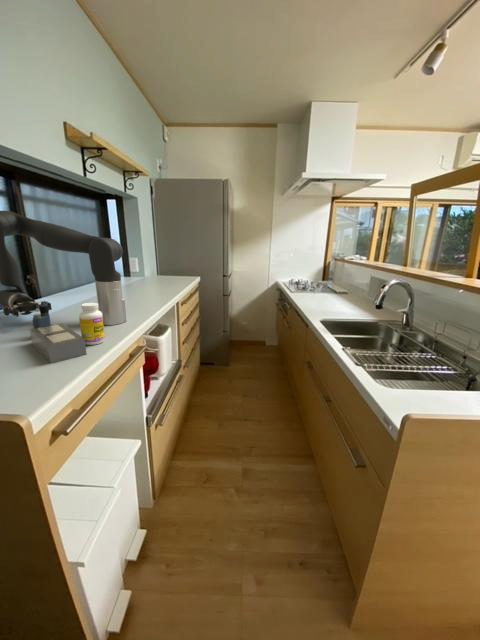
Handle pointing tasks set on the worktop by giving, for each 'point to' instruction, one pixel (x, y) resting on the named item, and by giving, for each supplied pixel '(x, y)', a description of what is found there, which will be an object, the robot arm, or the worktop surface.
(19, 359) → the worktop surface
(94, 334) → the supplement bottle
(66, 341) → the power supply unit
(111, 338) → the worktop surface
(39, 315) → the vaping device
